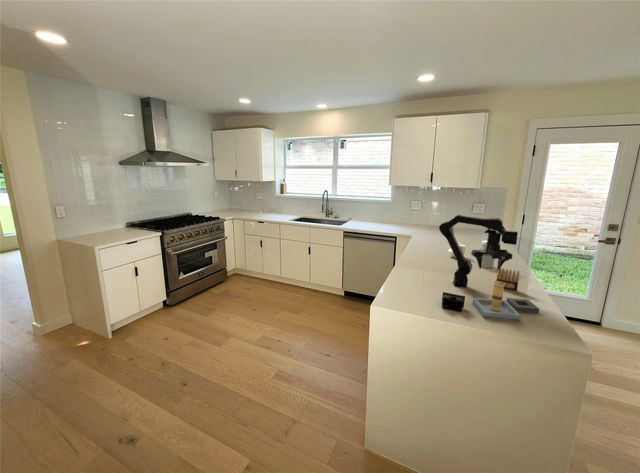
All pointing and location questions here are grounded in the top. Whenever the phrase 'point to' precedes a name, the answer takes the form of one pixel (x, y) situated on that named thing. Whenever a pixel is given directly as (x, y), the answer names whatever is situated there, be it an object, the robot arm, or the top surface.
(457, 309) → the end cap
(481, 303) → the parts tray
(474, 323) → the top surface
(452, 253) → the mechanical part
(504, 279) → the ammunition clip
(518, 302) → the block
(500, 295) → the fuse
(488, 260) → the jar
